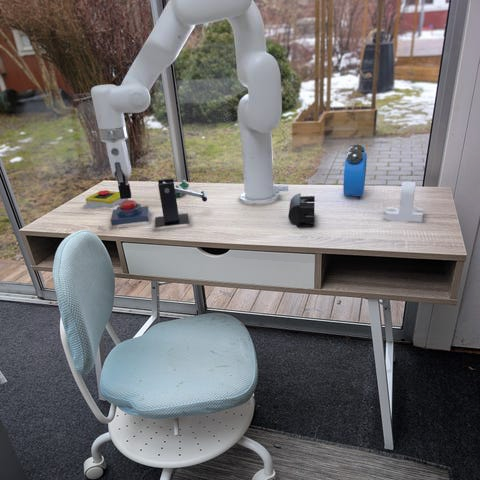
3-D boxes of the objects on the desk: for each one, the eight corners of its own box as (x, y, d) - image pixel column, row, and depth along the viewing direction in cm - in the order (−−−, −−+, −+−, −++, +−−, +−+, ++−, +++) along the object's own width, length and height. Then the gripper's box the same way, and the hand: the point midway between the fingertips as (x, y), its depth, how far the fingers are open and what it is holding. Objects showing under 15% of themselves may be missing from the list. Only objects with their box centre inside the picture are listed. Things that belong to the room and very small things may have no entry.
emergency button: (97, 186, 166) (132, 189, 160) (100, 198, 168) (134, 202, 162) (79, 195, 159) (115, 198, 153) (82, 207, 161) (118, 211, 155)
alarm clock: (362, 202, 146) (365, 152, 138) (341, 201, 148) (343, 152, 140) (364, 188, 156) (368, 141, 148) (345, 188, 158) (347, 141, 150)
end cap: (290, 215, 141) (289, 193, 137) (314, 215, 140) (314, 192, 136) (288, 228, 133) (288, 205, 129) (314, 228, 132) (314, 204, 128)
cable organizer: (422, 221, 130) (427, 185, 125) (384, 219, 133) (388, 184, 128) (423, 215, 134) (428, 179, 129) (386, 212, 137) (390, 178, 132)
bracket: (188, 217, 146) (182, 175, 139) (189, 226, 140) (183, 183, 133) (155, 220, 145) (148, 179, 138) (155, 230, 139) (148, 187, 132)
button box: (149, 213, 151) (147, 200, 149) (149, 224, 144) (146, 209, 141) (114, 218, 150) (111, 204, 148) (112, 228, 143) (109, 214, 140)
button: (136, 205, 147) (135, 199, 146) (135, 209, 143) (134, 204, 142) (122, 206, 146) (121, 201, 145) (121, 211, 143) (120, 205, 142)
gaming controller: (172, 204, 163) (182, 192, 159) (164, 196, 162) (174, 184, 159) (182, 195, 170) (192, 183, 167) (174, 187, 169) (184, 176, 166)
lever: (204, 197, 142) (206, 190, 141) (206, 203, 138) (208, 195, 137) (161, 187, 139) (162, 179, 138) (161, 193, 134) (162, 185, 133)
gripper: (125, 138, 127) (137, 204, 137) (128, 127, 139) (139, 189, 149) (97, 140, 126) (111, 207, 136) (102, 130, 139) (115, 191, 149)
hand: (126, 197), depth 143 cm, fingers closed
